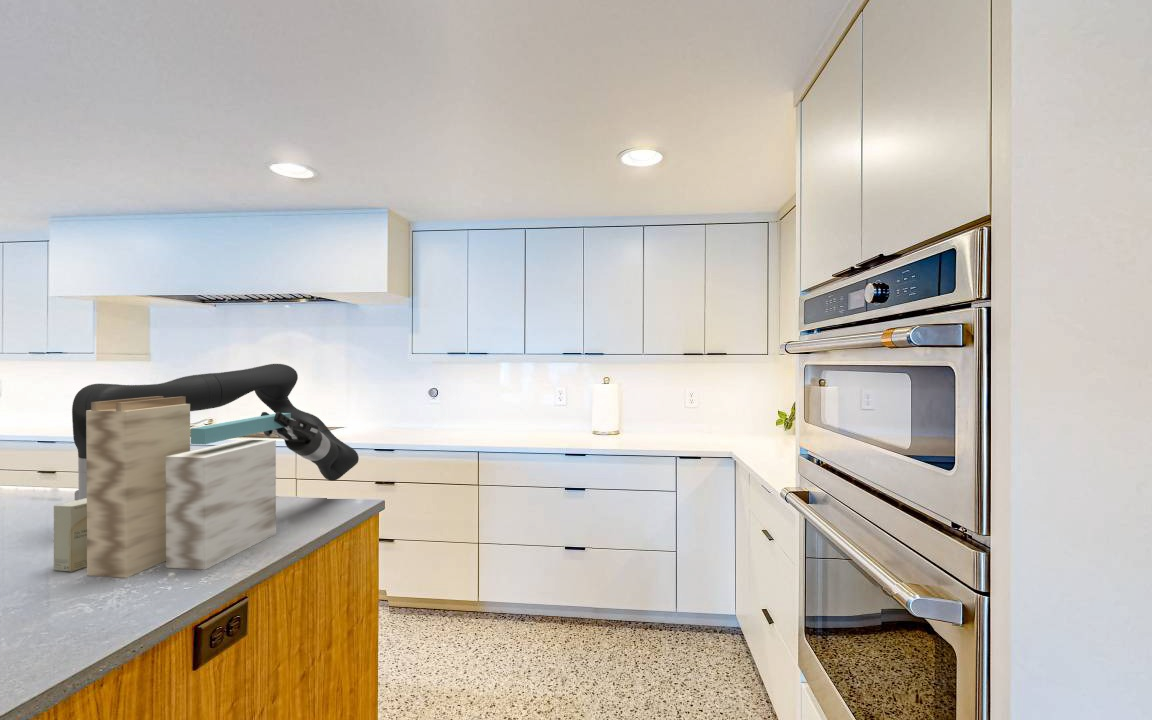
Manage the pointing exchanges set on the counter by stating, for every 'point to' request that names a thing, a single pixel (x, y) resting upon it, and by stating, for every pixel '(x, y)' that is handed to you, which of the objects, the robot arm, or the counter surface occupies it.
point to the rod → (234, 429)
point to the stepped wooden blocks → (170, 490)
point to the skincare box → (70, 535)
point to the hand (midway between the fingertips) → (269, 416)
